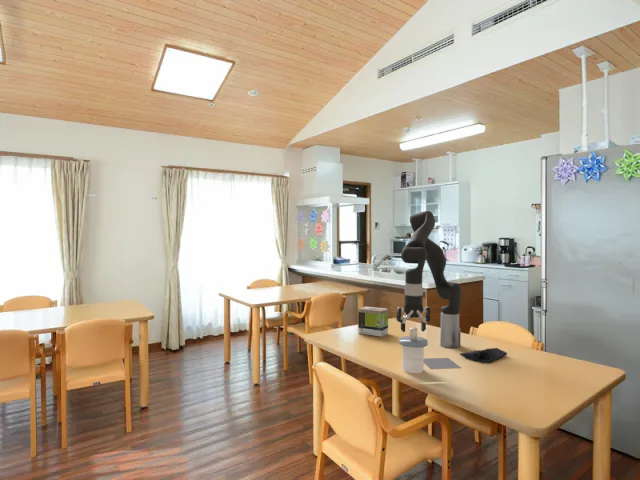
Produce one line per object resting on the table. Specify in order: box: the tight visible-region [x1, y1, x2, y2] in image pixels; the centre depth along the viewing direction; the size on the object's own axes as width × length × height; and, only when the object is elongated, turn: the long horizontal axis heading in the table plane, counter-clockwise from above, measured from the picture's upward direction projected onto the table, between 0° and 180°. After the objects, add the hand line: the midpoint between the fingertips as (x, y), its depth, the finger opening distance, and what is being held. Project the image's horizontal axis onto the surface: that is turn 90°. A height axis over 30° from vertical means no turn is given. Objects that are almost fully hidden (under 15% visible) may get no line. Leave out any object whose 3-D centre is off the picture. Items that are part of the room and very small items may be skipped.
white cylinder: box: [401, 345, 425, 374], centre depth 175 cm, size 9×9×12 cm
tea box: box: [357, 306, 389, 337], centre depth 237 cm, size 15×10×15 cm, turn 58°
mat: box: [424, 357, 462, 370], centre depth 184 cm, size 14×14×1 cm
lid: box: [398, 326, 429, 348], centre depth 175 cm, size 12×12×6 cm
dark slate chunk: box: [459, 347, 508, 364], centre depth 195 cm, size 15×22×5 cm
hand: (413, 331), depth 175 cm, fingers open, 8 cm apart
